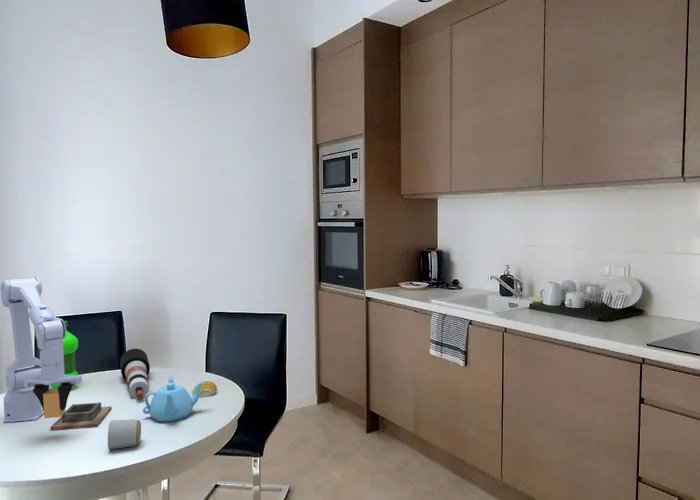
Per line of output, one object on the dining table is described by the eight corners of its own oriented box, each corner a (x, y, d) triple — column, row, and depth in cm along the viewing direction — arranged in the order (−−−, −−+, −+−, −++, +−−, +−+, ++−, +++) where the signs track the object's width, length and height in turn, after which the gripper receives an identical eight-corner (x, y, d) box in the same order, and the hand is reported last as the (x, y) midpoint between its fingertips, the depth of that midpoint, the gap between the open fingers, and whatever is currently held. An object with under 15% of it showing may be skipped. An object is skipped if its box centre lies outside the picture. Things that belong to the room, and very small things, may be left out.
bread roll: (217, 388, 183) (216, 377, 183) (216, 396, 175) (215, 385, 174) (193, 390, 182) (193, 379, 181) (191, 398, 173) (191, 387, 173)
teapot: (136, 419, 155) (134, 387, 154) (173, 403, 168) (172, 373, 168) (170, 428, 148) (168, 394, 148) (206, 410, 162) (205, 379, 161)
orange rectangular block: (44, 418, 141) (43, 394, 140) (50, 412, 145) (49, 389, 144) (59, 417, 141) (58, 393, 141) (65, 411, 145) (64, 388, 145)
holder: (50, 430, 148) (49, 418, 148) (68, 412, 162) (68, 401, 161) (97, 426, 150) (96, 415, 150) (111, 409, 164) (111, 398, 163)
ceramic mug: (139, 449, 135) (138, 422, 134) (107, 454, 132) (106, 426, 132) (142, 434, 144) (142, 409, 144) (113, 438, 142) (112, 413, 142)
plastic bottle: (50, 386, 187) (46, 320, 185) (81, 382, 191) (78, 318, 189) (45, 395, 178) (41, 326, 176) (79, 391, 182) (75, 323, 180)
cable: (133, 416, 169) (117, 393, 166) (128, 377, 199) (114, 357, 196) (161, 398, 173) (146, 376, 169) (152, 363, 203) (139, 343, 199)
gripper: (17, 368, 137) (20, 416, 138) (74, 365, 139) (76, 412, 140) (29, 361, 144) (32, 407, 145) (83, 358, 146) (85, 403, 147)
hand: (54, 409), depth 143 cm, fingers closed on orange rectangular block, 4 cm apart
